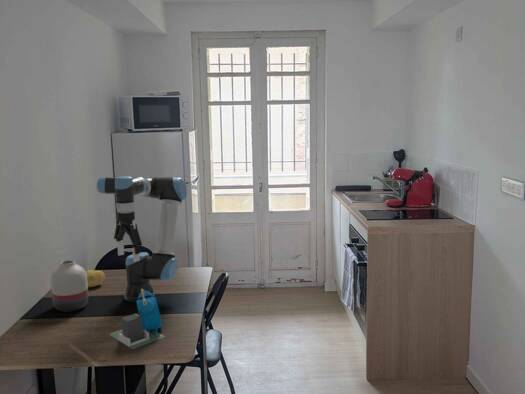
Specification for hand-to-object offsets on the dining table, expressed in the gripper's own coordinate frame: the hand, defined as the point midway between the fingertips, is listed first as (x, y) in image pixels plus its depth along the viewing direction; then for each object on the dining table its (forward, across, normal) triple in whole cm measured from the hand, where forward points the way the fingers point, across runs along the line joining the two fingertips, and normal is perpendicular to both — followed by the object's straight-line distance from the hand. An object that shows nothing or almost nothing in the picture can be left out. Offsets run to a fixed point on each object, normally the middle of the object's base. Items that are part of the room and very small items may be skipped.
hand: (128, 257), depth 230 cm
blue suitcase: (+32, +13, +2) cm, 34 cm away
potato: (+32, -61, +9) cm, 70 cm away
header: (+30, +17, -9) cm, 36 cm away
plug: (+30, +17, -10) cm, 36 cm away
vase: (+32, -40, -11) cm, 53 cm away
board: (+32, +14, -6) cm, 35 cm away
